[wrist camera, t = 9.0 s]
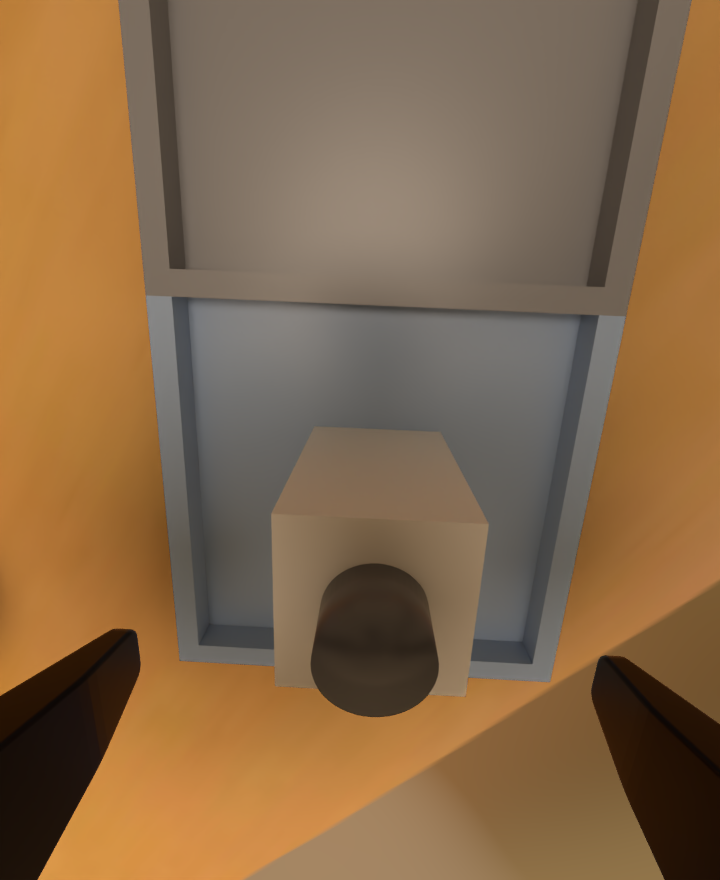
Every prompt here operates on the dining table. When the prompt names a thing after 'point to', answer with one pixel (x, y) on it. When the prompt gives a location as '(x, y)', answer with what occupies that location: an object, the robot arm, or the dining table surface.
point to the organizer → (389, 269)
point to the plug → (376, 570)
